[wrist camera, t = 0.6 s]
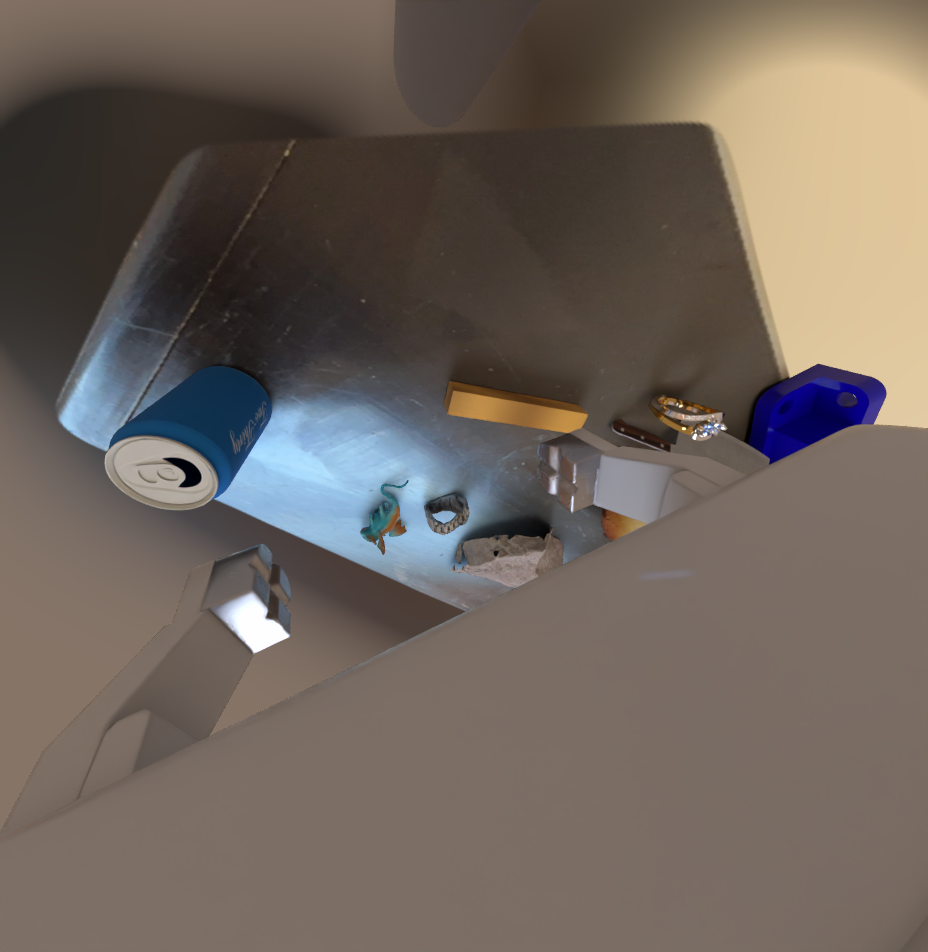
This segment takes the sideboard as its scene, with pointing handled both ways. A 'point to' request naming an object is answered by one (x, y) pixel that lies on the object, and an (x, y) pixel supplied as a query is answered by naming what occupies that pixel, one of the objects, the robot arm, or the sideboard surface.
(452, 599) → the sideboard surface
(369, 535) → the dragon figurine
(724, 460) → the meat cleaver
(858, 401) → the clamp
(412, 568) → the sideboard surface
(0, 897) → the robot arm
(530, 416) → the fry stick
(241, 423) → the beverage can
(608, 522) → the fruit
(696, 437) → the ring
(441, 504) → the wristwatch
